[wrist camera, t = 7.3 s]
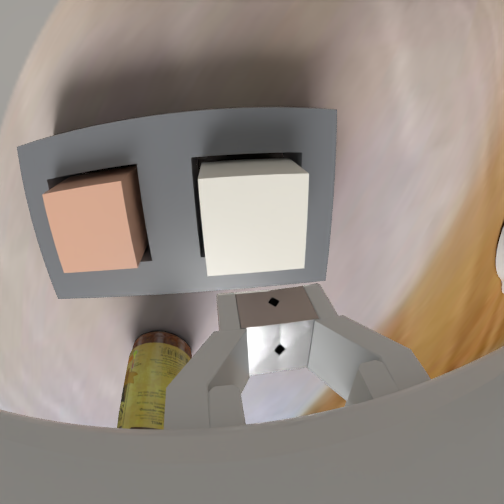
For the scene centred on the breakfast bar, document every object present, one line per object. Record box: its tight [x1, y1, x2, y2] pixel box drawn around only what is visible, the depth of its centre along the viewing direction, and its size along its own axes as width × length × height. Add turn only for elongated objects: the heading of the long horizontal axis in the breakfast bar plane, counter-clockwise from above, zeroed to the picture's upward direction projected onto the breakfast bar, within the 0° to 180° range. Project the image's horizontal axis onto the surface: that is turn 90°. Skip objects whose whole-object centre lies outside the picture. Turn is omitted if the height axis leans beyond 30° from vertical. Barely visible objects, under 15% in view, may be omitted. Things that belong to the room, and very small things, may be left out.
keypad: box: [17, 107, 337, 299], centre depth 19 cm, size 19×11×5 cm, turn 91°
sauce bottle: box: [117, 331, 192, 429], centre depth 19 cm, size 6×6×20 cm
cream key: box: [198, 158, 309, 276], centre depth 16 cm, size 5×5×4 cm
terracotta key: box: [42, 165, 149, 273], centre depth 16 cm, size 5×5×4 cm
